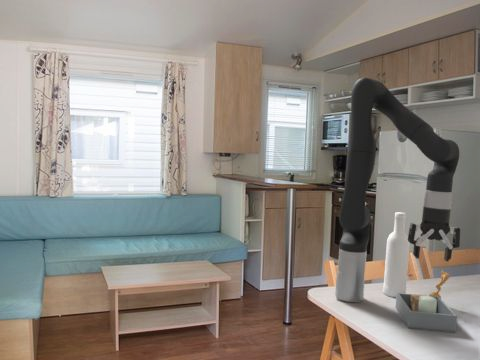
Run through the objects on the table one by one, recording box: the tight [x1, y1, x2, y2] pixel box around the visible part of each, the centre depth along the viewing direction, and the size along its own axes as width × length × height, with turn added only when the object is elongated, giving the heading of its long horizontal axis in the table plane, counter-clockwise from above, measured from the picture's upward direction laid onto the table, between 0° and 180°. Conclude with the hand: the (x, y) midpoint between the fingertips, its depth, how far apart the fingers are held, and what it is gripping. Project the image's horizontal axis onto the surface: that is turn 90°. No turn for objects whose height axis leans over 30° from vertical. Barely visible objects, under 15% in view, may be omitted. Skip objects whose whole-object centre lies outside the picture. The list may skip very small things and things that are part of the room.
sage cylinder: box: [418, 295, 437, 313], centre depth 135 cm, size 5×5×7 cm
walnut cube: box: [410, 293, 428, 312], centre depth 142 cm, size 5×5×5 cm
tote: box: [395, 293, 458, 334], centre depth 138 cm, size 13×17×5 cm
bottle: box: [382, 211, 411, 299], centre depth 160 cm, size 8×8×30 cm
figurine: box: [428, 270, 451, 300], centre depth 152 cm, size 8×6×12 cm
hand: (431, 259), depth 134 cm, fingers open, 8 cm apart
